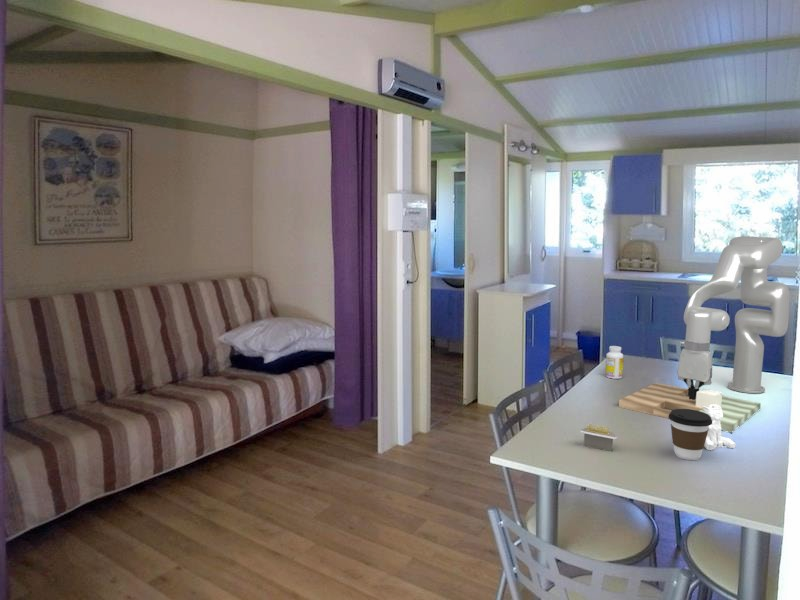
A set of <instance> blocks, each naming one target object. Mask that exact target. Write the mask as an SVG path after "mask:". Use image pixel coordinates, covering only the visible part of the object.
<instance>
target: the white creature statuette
mask: <svg viewBox="0 0 800 600" xmlns="http://www.w3.org/2000/svg"><path fill="white" fill-rule="evenodd" d="M702 408H703V410H704V411H706V414H708V415H709V416H710V417H711V419H712V424H711V425H709V427H708V429H709V430H708V434H707V437H706V441H705V445H704V448H705V450H707V451H710V450H711V451H713V450H714V449H716V448H715V447H717V448H719V447H720V448H721V447H722V448H727V447H730V448H734V449H736V445H737V444H736V442H735V441H733V440H732V439H731V438H728V437H725V436H722V431H721V429H722V428H721V424H720V420H721V418H722V417H723V413H722V409H721V407H720V406H719V405H716V404H714V405H709V406H708V407H705V406H703V407H702ZM724 446H726V447H724ZM730 448H729V449H730Z"/></svg>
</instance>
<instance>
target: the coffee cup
mask: <svg viewBox="0 0 800 600" xmlns="http://www.w3.org/2000/svg"><path fill="white" fill-rule="evenodd" d="M668 417H669V418H668V419H669V420H670V423H671V424H670V429H671V430H670V431H671V441H672V444H673V452H674V453H675V456H676V457H677V458H680V459H683V460H687V461H698V460H699V459H700V458H701V456H702V453H703V449H704V448H705V447H704V445H705V441H706V437H707V434H708V430H709V429H708V427H709V425H711V424H712V419H711V417H710V416H709V415H708V414H706V413H704V412H701V411H697V410H691V409H675V410H672V411H671V413H670V414H669V416H668Z"/></svg>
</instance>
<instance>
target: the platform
mask: <svg viewBox="0 0 800 600" xmlns="http://www.w3.org/2000/svg"><path fill="white" fill-rule="evenodd" d="M580 433H582V434H584V436H583V437H584V438H583V446H584V447H588V448H593V449H599V450H603V451H607V452H613V443H614V442H613V440H616V439H617V438H618V436H617V434H615V433H614V432H613V431H610V427H607V426H602V425H597V424H591V423H589V424H588V425H587V427H585V428H581V429H580Z"/></svg>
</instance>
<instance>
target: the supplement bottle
mask: <svg viewBox="0 0 800 600" xmlns="http://www.w3.org/2000/svg"><path fill="white" fill-rule="evenodd" d="M608 349H609V351H608V352H607V353H606V357H605V358H606V359H605V377H606V378H607V377H608V379H610V378H612V379H613V380H621V379H622V378H623V374H624V354H623V353H622V347H621V346H617V345H610V346H609V348H608Z"/></svg>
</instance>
